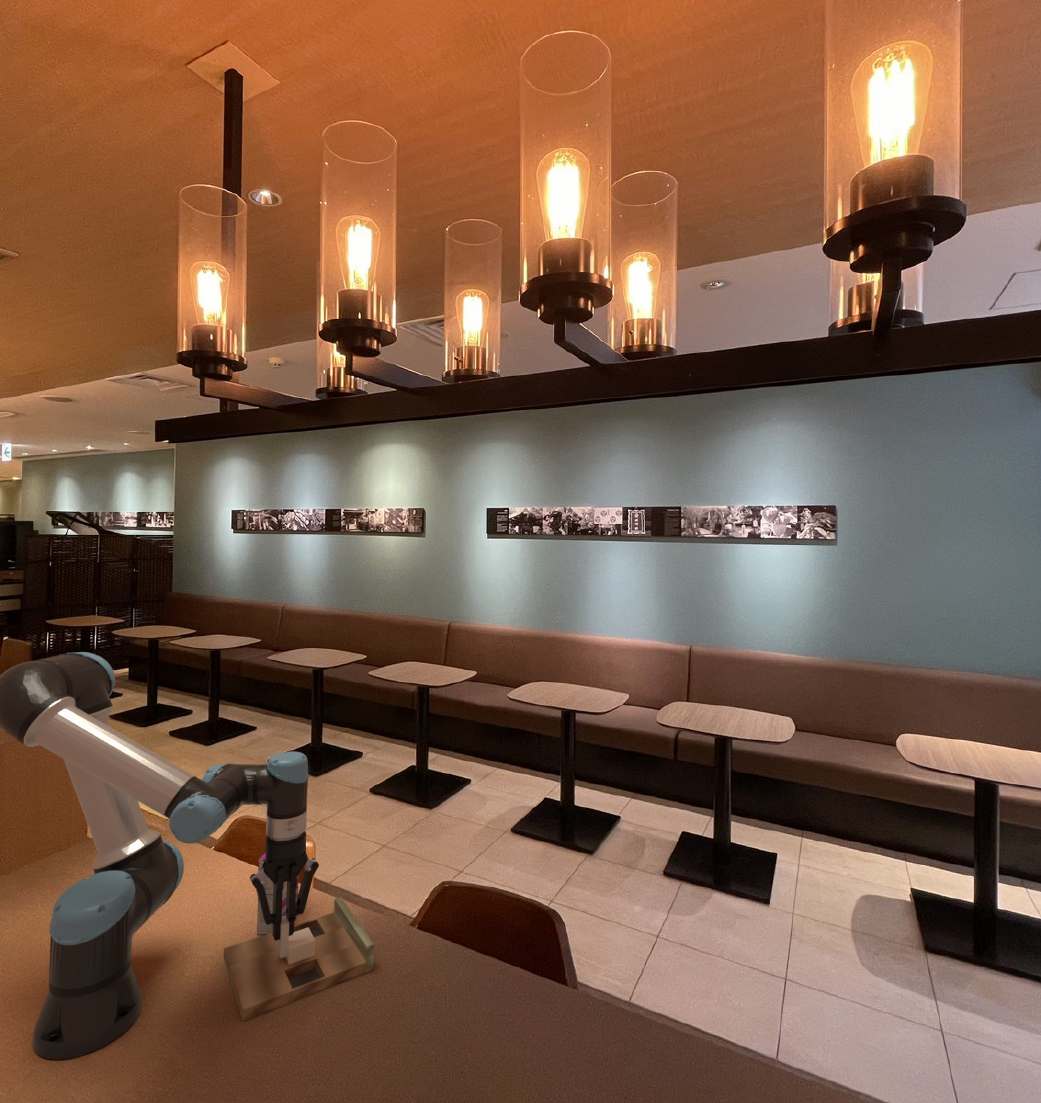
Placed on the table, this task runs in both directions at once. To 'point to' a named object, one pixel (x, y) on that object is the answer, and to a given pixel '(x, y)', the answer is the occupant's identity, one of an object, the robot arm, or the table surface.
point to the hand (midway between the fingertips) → (282, 953)
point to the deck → (298, 963)
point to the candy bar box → (270, 901)
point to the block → (300, 946)
